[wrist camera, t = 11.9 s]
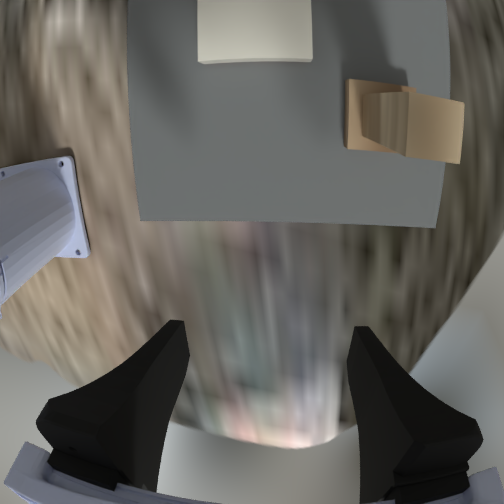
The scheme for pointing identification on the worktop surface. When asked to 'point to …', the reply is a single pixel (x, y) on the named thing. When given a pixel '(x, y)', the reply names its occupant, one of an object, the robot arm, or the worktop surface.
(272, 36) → the tile
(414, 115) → the stepped wooden block
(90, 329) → the worktop surface
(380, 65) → the mat
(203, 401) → the worktop surface
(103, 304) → the worktop surface
